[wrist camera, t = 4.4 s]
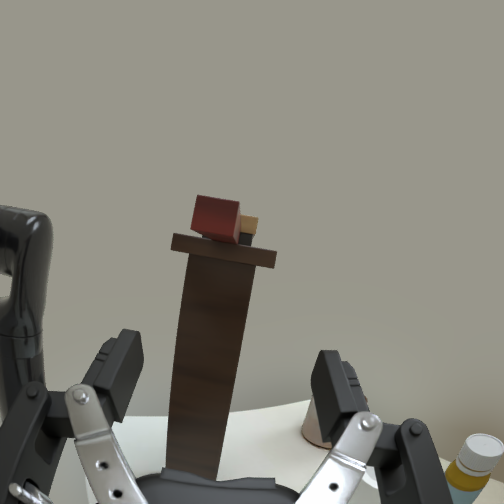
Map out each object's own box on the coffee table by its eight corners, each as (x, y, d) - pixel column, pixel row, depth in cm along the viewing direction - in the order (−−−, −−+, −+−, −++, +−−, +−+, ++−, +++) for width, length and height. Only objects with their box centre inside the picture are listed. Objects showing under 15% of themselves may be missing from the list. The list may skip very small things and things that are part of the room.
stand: (222, 512, 24) (277, 251, 24) (151, 498, 24) (173, 232, 24) (224, 476, 32) (269, 252, 32) (164, 464, 32) (190, 238, 32)
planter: (333, 457, 39) (350, 415, 39) (289, 431, 47) (301, 391, 47) (362, 436, 46) (377, 397, 46) (322, 417, 54) (333, 380, 54)
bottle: (458, 521, 16) (513, 443, 16) (432, 544, 14) (496, 465, 14) (430, 503, 23) (476, 427, 23) (402, 521, 20) (454, 443, 20)
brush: (261, 242, 14) (270, 187, 14) (163, 224, 14) (175, 172, 14) (251, 249, 33) (255, 225, 33) (208, 241, 33) (212, 217, 33)
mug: (398, 489, 28) (426, 439, 28) (423, 527, 18) (462, 475, 18) (320, 499, 28) (344, 448, 28) (336, 548, 18) (372, 500, 18)
